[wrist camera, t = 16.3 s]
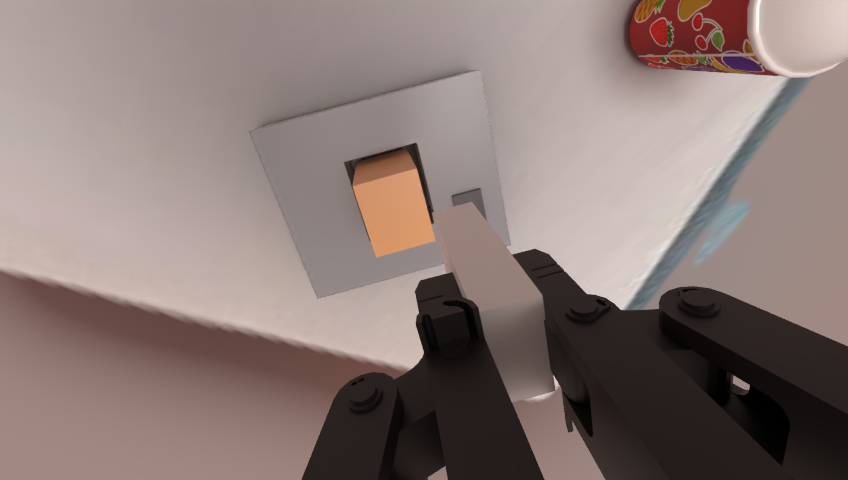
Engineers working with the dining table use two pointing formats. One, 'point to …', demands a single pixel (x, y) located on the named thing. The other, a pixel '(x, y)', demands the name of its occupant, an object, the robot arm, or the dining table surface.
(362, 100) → the socket box
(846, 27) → the smoothie
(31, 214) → the dining table surface
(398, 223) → the plug
